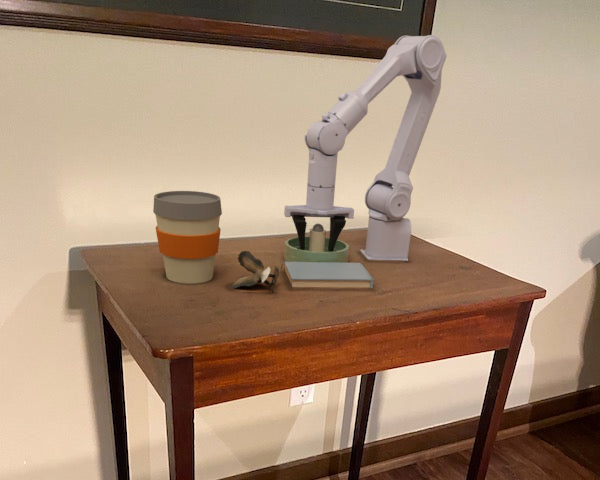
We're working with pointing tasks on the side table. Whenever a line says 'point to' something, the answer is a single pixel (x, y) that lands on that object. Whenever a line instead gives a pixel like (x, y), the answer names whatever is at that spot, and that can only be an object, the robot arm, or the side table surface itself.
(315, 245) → the shaker
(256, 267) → the eagle figurine
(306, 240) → the bowl
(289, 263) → the book
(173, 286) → the side table surface
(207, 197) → the reusable coffee cup
